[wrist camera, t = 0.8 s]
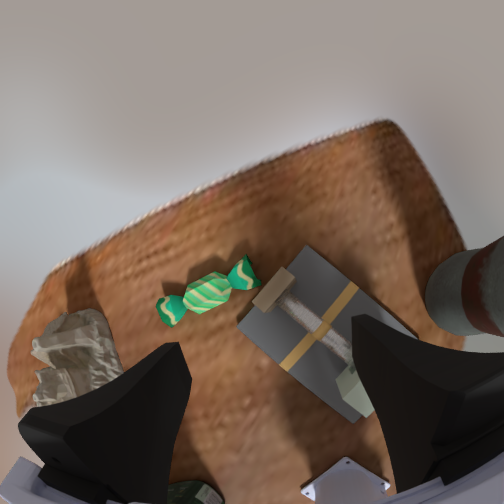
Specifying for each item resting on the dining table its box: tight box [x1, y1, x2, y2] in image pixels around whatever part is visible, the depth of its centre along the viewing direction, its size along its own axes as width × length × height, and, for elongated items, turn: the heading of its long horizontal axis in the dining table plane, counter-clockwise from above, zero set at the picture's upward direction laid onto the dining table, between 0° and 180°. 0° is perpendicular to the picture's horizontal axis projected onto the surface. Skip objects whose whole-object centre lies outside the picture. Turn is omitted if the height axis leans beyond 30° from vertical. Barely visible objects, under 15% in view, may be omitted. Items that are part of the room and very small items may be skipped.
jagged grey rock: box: [31, 308, 124, 407], centre depth 28 cm, size 16×16×15 cm
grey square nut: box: [335, 365, 374, 418], centre depth 23 cm, size 3×6×7 cm, turn 139°
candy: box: [156, 254, 261, 328], centre depth 32 cm, size 12×3×4 cm
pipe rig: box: [236, 245, 417, 424], centre depth 27 cm, size 18×12×6 cm, turn 49°
